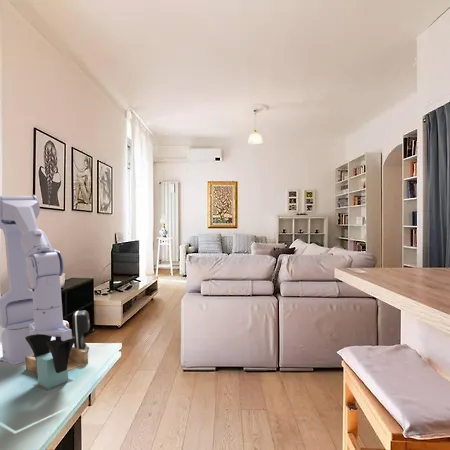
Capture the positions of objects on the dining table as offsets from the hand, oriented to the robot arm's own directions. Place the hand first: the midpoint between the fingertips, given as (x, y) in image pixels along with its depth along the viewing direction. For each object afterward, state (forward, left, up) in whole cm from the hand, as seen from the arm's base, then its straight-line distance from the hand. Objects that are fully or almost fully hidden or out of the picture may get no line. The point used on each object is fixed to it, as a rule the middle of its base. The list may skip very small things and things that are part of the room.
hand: (52, 368), depth 83 cm
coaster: (0, 0, -4) cm, 4 cm away
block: (0, 0, -3) cm, 3 cm away
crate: (-9, +6, -4) cm, 11 cm away
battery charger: (-12, +16, -4) cm, 20 cm away
